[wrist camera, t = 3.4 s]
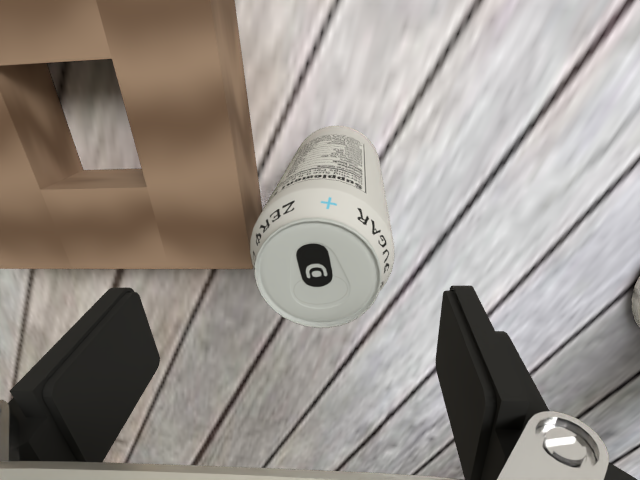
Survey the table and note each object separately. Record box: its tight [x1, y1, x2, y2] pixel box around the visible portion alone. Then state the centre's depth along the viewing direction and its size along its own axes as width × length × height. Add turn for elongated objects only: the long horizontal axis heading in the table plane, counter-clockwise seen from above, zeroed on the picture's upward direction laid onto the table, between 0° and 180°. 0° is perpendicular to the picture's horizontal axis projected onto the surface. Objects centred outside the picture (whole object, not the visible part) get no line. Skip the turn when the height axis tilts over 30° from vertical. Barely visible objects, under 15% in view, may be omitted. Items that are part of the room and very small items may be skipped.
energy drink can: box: [250, 126, 394, 328], centre depth 21 cm, size 6×6×15 cm
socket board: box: [0, 0, 262, 269], centre depth 26 cm, size 20×20×4 cm
